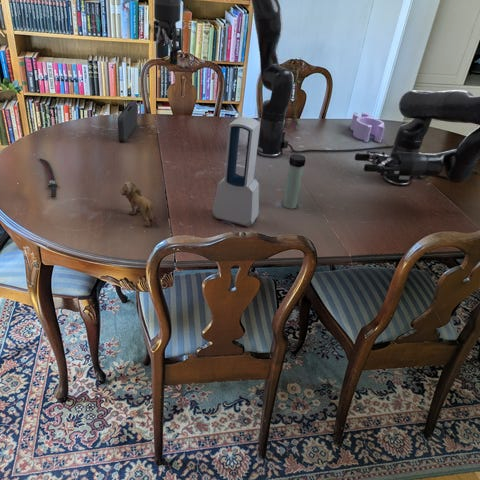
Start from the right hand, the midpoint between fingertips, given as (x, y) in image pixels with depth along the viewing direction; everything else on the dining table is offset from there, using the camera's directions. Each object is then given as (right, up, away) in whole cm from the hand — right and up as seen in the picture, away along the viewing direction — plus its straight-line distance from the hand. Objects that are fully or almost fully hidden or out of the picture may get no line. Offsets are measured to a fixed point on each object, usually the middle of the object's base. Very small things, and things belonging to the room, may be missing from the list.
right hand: (359, 162), depth 145 cm
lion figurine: (-67, -17, -9) cm, 69 cm away
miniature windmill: (-15, +29, +71) cm, 78 cm away
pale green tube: (-21, -13, +6) cm, 25 cm away
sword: (-100, -4, +6) cm, 100 cm away
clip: (+20, +25, +71) cm, 78 cm away
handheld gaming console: (-83, +20, +46) cm, 97 cm away
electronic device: (-39, -18, -5) cm, 43 cm away
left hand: (-60, +31, -2) cm, 67 cm away
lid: (-20, +1, -3) cm, 20 cm away
